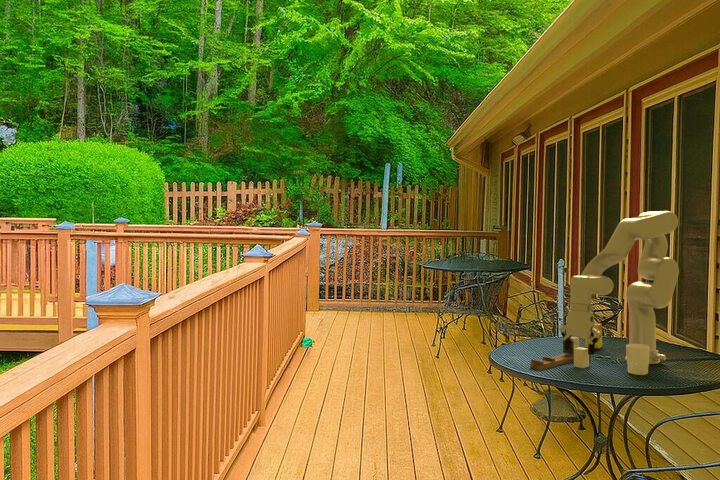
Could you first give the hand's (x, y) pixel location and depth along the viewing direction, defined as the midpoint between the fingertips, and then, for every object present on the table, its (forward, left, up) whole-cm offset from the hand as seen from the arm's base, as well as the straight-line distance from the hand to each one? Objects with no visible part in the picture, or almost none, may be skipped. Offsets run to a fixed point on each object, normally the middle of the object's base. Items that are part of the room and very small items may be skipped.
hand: (579, 352), depth 228 cm
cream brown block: (0, -1, -6) cm, 6 cm away
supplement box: (+15, -36, -6) cm, 39 cm away
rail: (+9, +1, -6) cm, 10 cm away
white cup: (-19, -7, -6) cm, 21 cm away
